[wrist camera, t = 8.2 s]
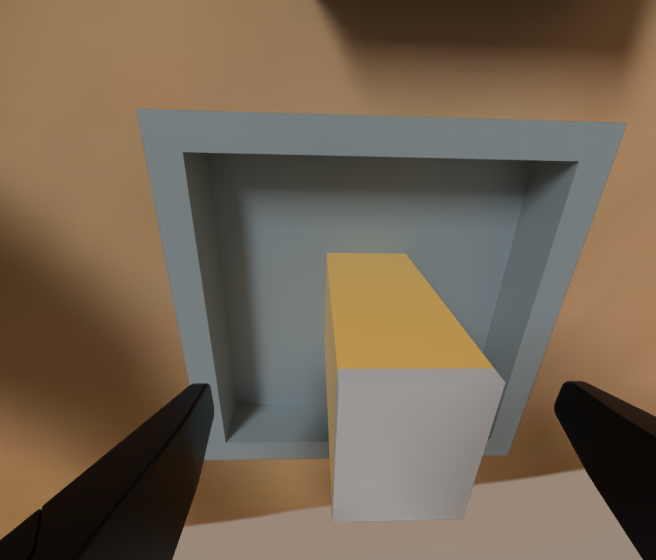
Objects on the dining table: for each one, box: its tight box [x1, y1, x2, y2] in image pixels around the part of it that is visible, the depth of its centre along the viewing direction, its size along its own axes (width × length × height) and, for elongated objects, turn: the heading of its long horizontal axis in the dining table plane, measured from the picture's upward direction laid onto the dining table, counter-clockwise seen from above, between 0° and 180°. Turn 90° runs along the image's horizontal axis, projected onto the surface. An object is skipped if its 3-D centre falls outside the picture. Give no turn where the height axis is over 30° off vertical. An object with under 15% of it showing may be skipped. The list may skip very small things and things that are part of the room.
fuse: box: [325, 253, 505, 522], centre depth 10 cm, size 3×4×7 cm
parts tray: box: [136, 109, 627, 460], centre depth 12 cm, size 13×13×3 cm
